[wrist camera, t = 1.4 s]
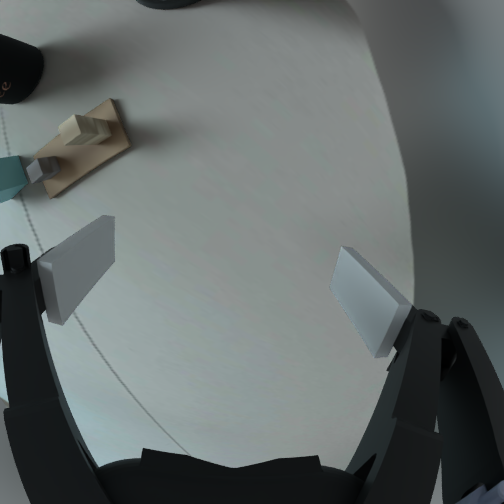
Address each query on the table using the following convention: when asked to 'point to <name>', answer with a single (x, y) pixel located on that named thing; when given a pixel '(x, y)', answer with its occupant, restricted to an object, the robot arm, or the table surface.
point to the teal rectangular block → (11, 177)
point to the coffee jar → (18, 69)
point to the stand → (79, 148)
